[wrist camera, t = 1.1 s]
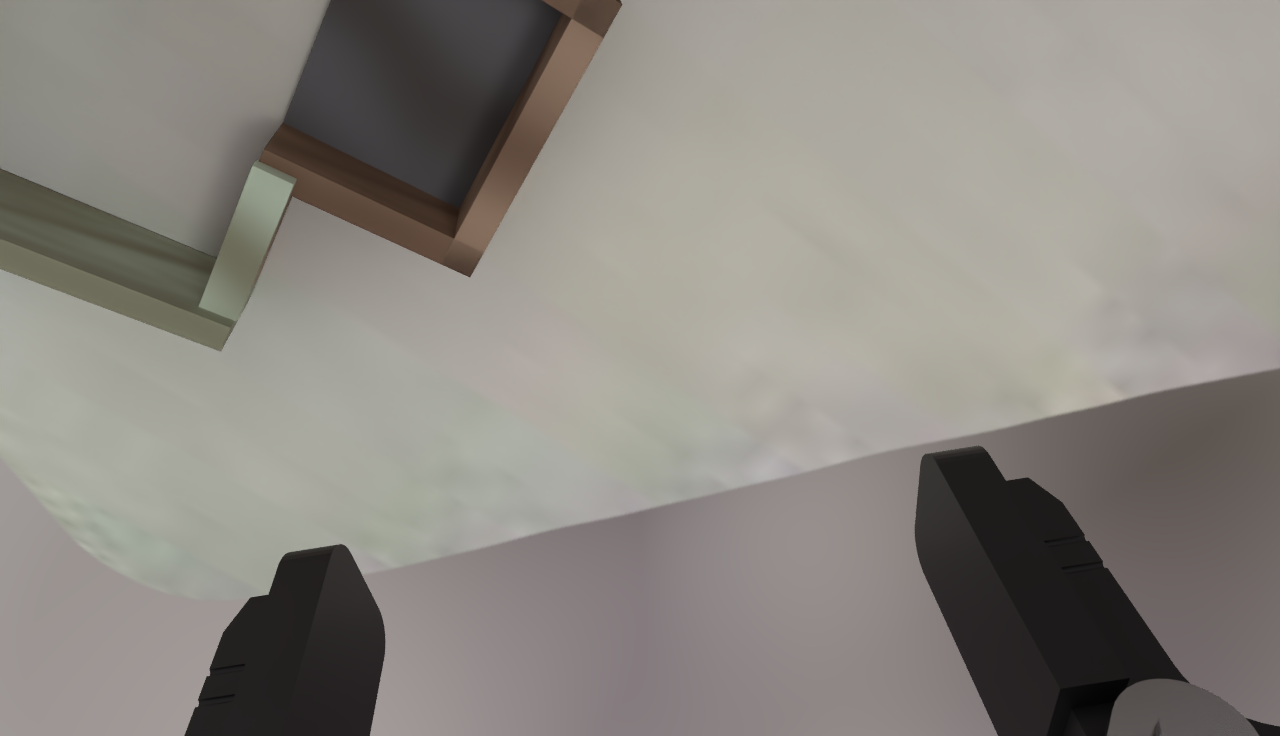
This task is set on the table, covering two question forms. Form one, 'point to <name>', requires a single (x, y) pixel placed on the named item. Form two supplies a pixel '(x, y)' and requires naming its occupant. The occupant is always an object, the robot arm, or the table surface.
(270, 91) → the table surface
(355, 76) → the trap box
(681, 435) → the table surface
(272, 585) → the robot arm
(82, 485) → the table surface
